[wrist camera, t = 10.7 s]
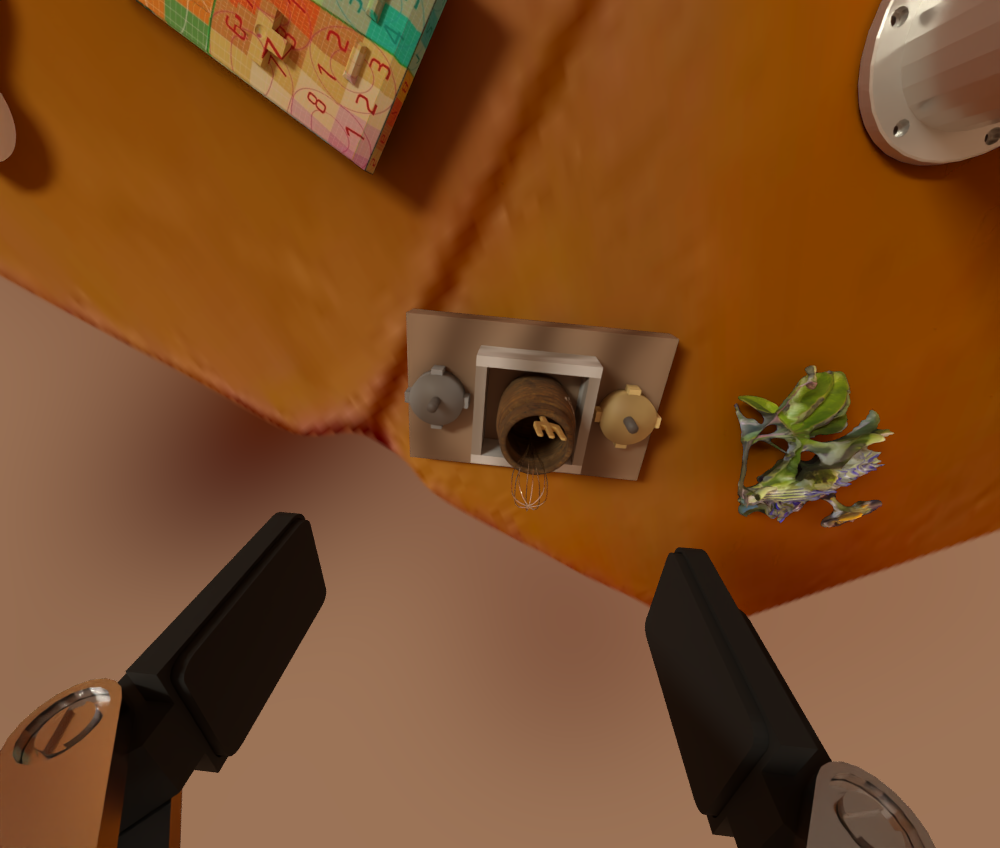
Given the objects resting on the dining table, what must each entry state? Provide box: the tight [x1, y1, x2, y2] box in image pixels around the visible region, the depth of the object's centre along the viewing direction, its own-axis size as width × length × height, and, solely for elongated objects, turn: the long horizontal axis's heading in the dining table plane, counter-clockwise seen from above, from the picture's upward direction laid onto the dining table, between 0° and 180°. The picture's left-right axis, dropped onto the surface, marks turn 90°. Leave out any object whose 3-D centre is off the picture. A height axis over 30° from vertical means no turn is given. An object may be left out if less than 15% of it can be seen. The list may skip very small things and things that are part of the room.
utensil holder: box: [496, 373, 576, 511], centre depth 25 cm, size 6×6×12 cm
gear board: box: [405, 309, 679, 481], centre depth 30 cm, size 21×13×5 cm, turn 85°
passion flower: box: [734, 366, 893, 527], centre depth 29 cm, size 11×11×12 cm
